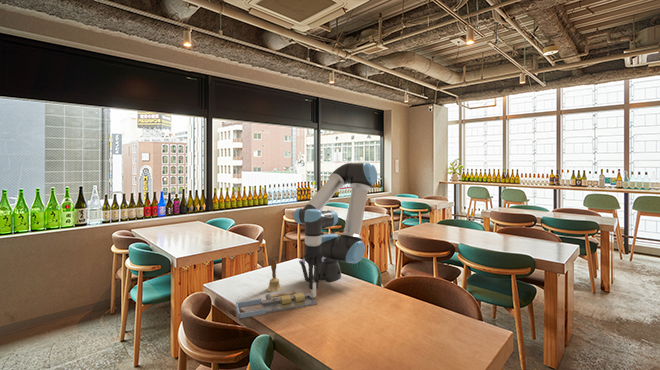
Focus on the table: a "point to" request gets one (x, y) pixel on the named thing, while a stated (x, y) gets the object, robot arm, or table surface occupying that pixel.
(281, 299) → the chip
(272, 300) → the slot board
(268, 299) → the hammer
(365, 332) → the table surface
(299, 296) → the yellow square block
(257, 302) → the tray
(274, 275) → the hand bell
